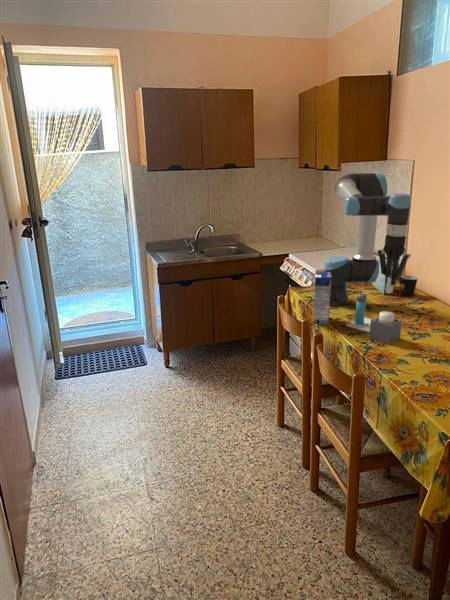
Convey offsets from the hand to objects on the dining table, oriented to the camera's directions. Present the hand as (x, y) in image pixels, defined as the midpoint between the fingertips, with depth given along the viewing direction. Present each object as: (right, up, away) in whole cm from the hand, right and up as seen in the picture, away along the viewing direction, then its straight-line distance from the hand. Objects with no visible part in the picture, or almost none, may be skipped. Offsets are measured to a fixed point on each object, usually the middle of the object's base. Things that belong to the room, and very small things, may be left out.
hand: (389, 292), depth 183 cm
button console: (0, -19, +6) cm, 20 cm away
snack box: (+23, +3, +73) cm, 77 cm away
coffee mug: (+33, 0, +64) cm, 72 cm away
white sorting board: (-2, -15, +19) cm, 24 cm away
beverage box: (-22, -13, +26) cm, 37 cm away
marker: (-6, -14, +20) cm, 25 cm away
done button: (0, -14, +4) cm, 14 cm away
